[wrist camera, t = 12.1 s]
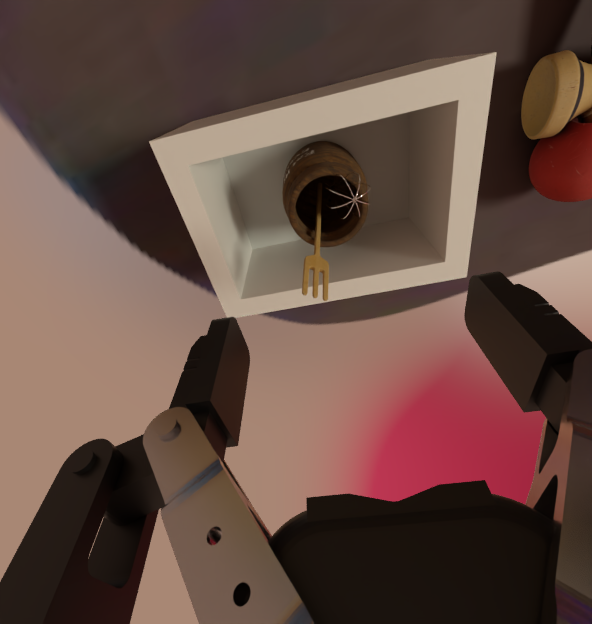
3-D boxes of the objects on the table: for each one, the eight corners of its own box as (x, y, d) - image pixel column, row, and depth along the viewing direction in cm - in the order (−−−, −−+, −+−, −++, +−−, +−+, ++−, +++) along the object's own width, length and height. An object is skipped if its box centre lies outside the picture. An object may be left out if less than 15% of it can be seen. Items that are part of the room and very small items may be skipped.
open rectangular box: (193, 120, 23) (148, 141, 16) (428, 59, 21) (496, 51, 14) (243, 261, 30) (227, 319, 23) (422, 225, 28) (466, 277, 21)
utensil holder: (370, 153, 24) (423, 206, 14) (338, 228, 27) (363, 311, 18) (297, 125, 23) (300, 163, 13) (273, 208, 26) (262, 284, 17)
